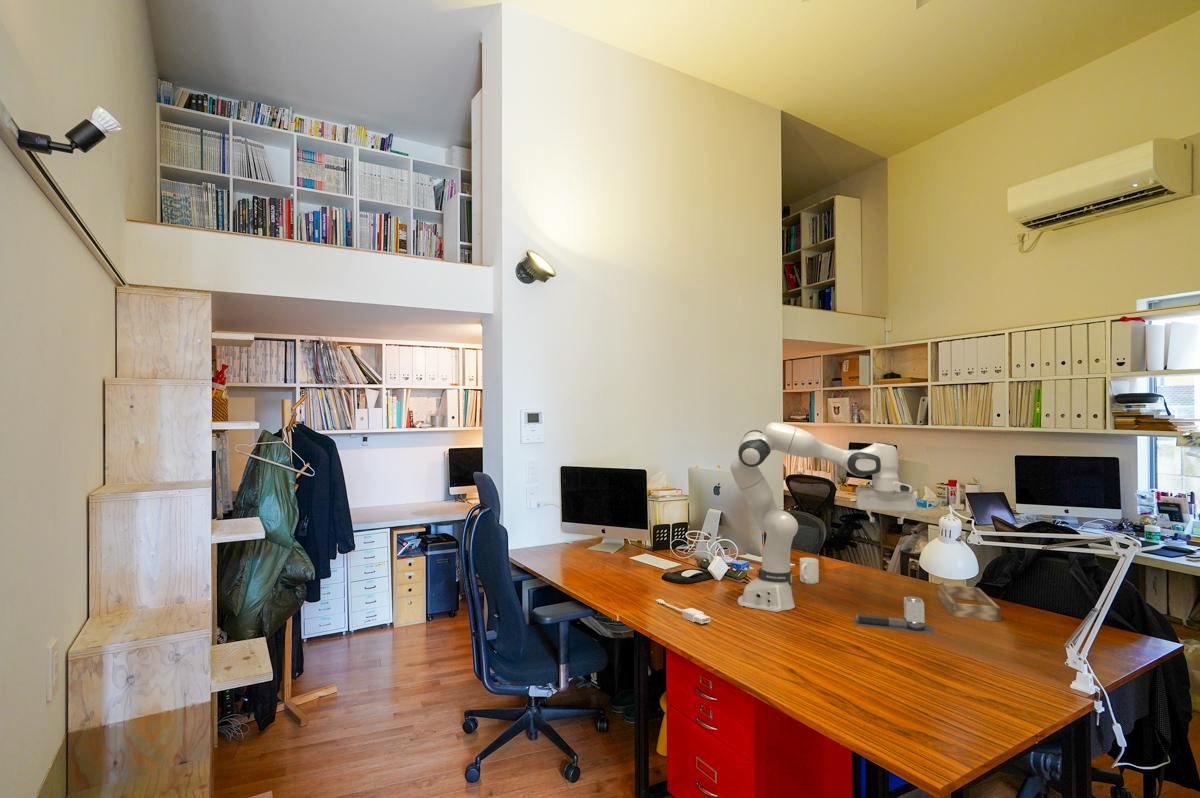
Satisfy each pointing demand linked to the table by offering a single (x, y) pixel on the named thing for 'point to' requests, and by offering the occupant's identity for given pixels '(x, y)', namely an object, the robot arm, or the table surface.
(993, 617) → the frame
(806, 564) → the mug
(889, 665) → the table surface
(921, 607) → the socket
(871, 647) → the table surface
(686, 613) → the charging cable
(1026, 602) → the table surface
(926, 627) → the tool mat
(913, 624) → the ratchet
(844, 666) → the table surface
